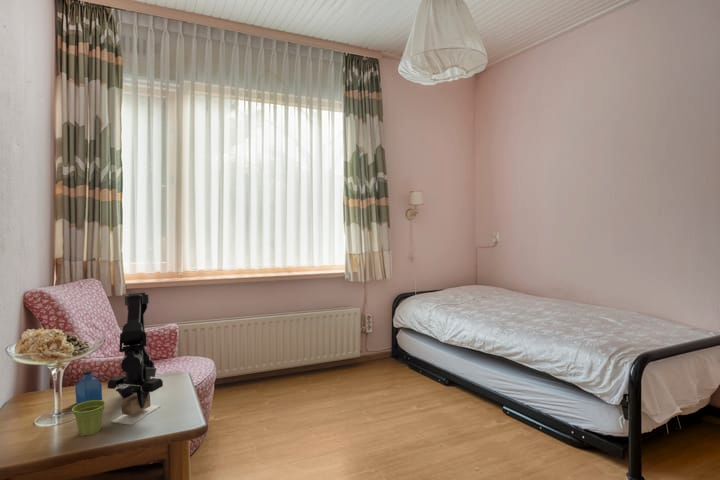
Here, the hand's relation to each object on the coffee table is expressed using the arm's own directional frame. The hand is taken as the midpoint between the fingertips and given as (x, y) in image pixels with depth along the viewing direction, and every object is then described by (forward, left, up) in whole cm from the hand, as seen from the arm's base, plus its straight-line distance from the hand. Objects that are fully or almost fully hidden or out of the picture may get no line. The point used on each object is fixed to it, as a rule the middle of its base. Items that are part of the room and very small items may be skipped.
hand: (136, 407), depth 155 cm
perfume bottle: (-6, -27, -3) cm, 28 cm away
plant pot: (+14, -6, -3) cm, 15 cm away
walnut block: (0, 0, -1) cm, 1 cm away
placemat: (0, 0, -3) cm, 3 cm away
